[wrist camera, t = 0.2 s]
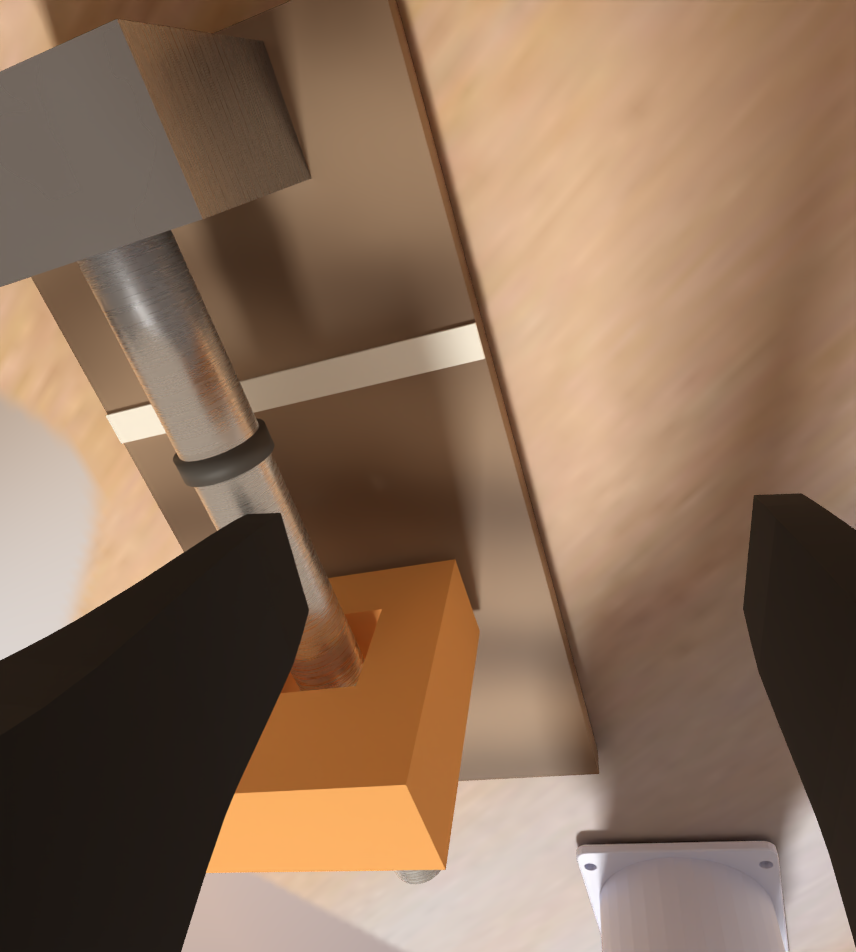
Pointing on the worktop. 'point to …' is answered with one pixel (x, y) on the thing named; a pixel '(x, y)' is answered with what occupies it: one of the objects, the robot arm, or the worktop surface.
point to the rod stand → (292, 327)
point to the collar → (365, 740)
